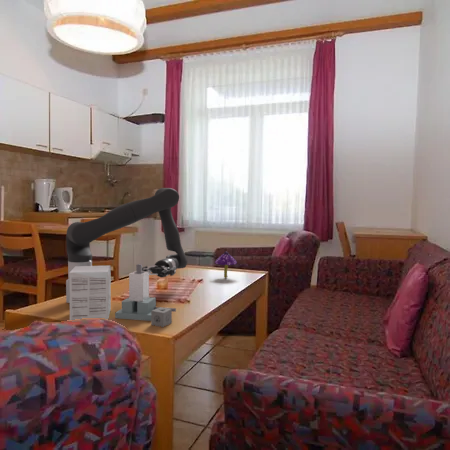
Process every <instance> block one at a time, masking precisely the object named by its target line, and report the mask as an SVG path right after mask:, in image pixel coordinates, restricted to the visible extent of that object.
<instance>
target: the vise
mask: <svg viewBox="0 0 450 450" xmlns="http://www.w3.org/2000/svg"><path fill="white" fill-rule="evenodd" d="M142 267H143V264H141V263H138V264H136V270H135V271H136V273H137V274H142ZM159 307H160V306H157V297H150V296H149V298H148V299H147V300H145V301H144V302H138V301H129V297H127V298H125V299H123V300H121V308H120V309H119V310H117V311H116V312H115V314H114V316H115V319H122V320H123V319H124V320H136V321H146V322H147V321H149V322H151V311H152V310H155V309H157V308H159ZM161 308H165V307H161ZM166 308H167V309H172V312H176V311H177V308H175V307H174V308H173V307H166Z"/></svg>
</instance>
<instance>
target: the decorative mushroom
mask: <svg viewBox="0 0 450 450" xmlns="http://www.w3.org/2000/svg"><path fill="white" fill-rule="evenodd" d="M214 263H215V264H216V265H220V266H221V265H222V266H224V267H223V268H224V269H223V278H225V279H227V278H228V268H229V266H232V265H237V263H238V262H237V260H236V259H235V258H234V257H233V256H232V255H231V254H230V253H229V252H228V251H224V253H222V254H221V255H220V256H219V257H218V258H217V259H216V260H215V261H214Z"/></svg>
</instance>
